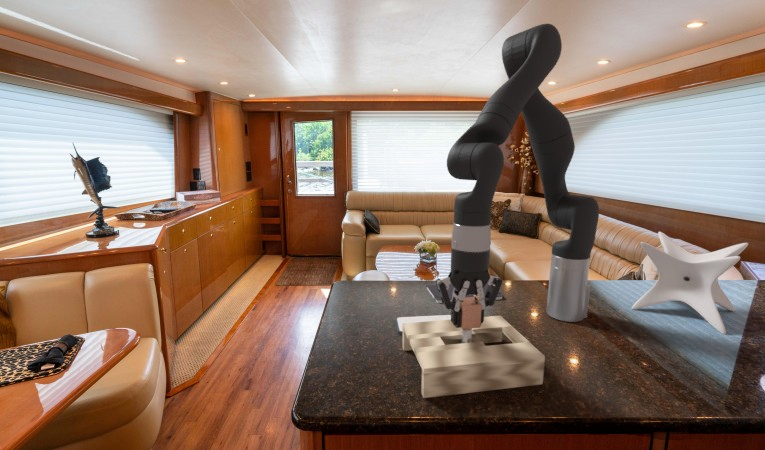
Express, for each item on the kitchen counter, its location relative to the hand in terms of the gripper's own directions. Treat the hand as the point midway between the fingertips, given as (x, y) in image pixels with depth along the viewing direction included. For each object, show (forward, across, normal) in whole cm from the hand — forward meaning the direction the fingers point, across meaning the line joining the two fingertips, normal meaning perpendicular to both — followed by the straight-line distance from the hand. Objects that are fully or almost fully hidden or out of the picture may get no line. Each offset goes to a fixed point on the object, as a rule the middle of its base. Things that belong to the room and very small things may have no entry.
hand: (466, 324), depth 76 cm
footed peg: (+8, 0, 0) cm, 8 cm away
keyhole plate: (+9, 0, 0) cm, 9 cm away
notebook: (+10, -15, -38) cm, 42 cm away
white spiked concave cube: (+9, -71, -15) cm, 74 cm away
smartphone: (+10, +3, -18) cm, 21 cm away
